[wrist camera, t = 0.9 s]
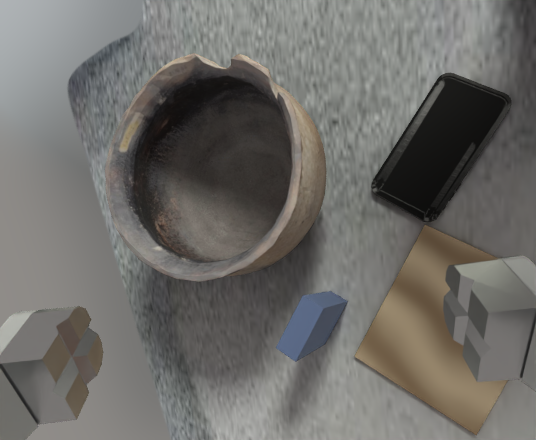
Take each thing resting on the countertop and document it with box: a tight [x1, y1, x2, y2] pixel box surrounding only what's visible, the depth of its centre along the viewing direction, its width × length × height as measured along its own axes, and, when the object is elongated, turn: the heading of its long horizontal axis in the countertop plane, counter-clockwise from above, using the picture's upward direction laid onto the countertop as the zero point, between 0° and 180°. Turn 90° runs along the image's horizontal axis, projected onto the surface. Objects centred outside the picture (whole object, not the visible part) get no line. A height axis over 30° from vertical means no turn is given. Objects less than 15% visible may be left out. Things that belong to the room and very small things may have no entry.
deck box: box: [276, 291, 348, 362], centre depth 41 cm, size 6×2×10 cm, turn 150°
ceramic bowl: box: [105, 53, 326, 282], centre depth 44 cm, size 22×22×15 cm
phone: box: [371, 73, 511, 222], centre depth 43 cm, size 8×1×15 cm
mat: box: [355, 225, 508, 435], centre depth 40 cm, size 16×13×1 cm
